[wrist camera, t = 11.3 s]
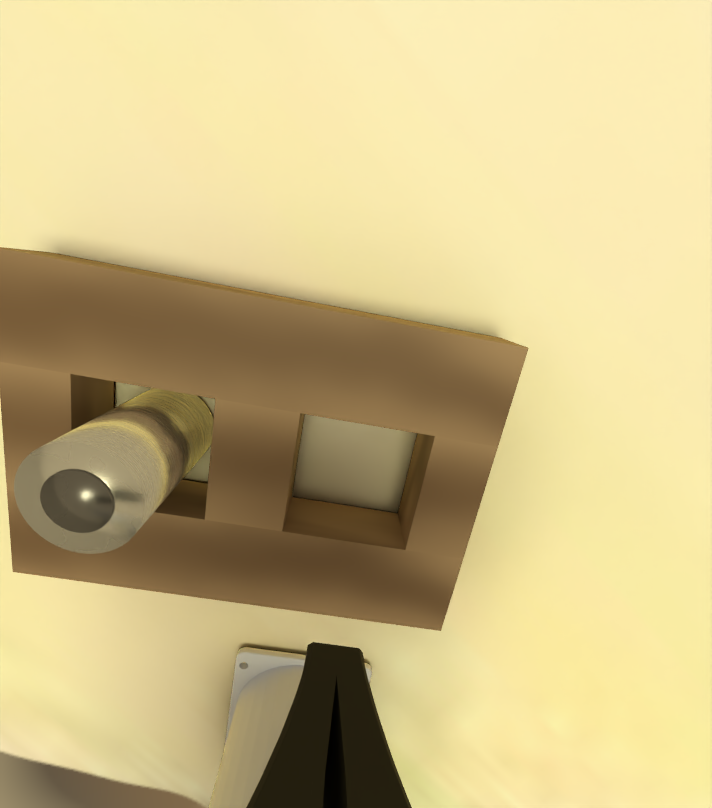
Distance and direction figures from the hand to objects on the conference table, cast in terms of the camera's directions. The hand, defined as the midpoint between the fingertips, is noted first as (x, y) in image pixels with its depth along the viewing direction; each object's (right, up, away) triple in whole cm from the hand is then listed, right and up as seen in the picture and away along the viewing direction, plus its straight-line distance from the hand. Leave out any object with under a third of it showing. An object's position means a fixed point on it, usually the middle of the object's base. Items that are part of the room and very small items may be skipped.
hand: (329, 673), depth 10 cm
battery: (-8, +6, +9) cm, 14 cm away
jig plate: (-4, +5, +9) cm, 11 cm away
